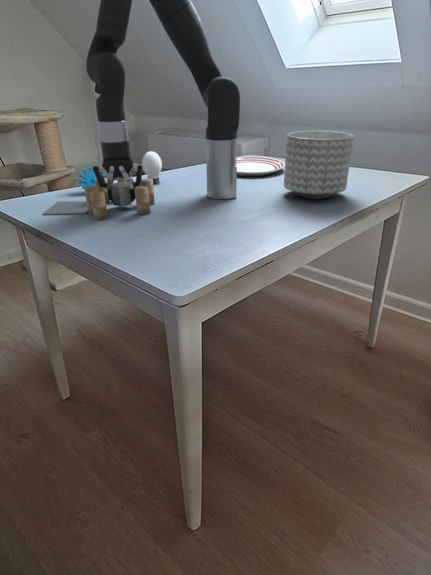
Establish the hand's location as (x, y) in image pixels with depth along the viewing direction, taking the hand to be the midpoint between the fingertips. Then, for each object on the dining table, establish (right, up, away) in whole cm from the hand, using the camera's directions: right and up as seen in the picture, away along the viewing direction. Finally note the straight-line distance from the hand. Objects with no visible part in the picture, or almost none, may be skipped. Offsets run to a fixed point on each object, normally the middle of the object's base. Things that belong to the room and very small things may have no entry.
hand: (122, 201), depth 113 cm
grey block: (0, -1, 0) cm, 1 cm away
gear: (-13, +7, +18) cm, 23 cm away
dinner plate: (+41, +21, +44) cm, 64 cm away
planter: (+58, +4, +11) cm, 59 cm away
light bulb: (+5, +12, +27) cm, 30 cm away
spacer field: (0, -2, +1) cm, 2 cm away
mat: (-15, -2, +1) cm, 16 cm away
